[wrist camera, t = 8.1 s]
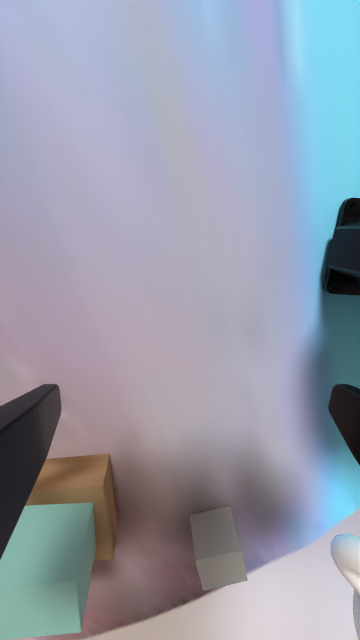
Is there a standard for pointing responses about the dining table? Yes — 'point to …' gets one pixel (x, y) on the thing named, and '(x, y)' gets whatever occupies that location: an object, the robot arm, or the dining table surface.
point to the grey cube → (217, 548)
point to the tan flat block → (82, 493)
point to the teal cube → (47, 571)
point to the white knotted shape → (349, 567)
